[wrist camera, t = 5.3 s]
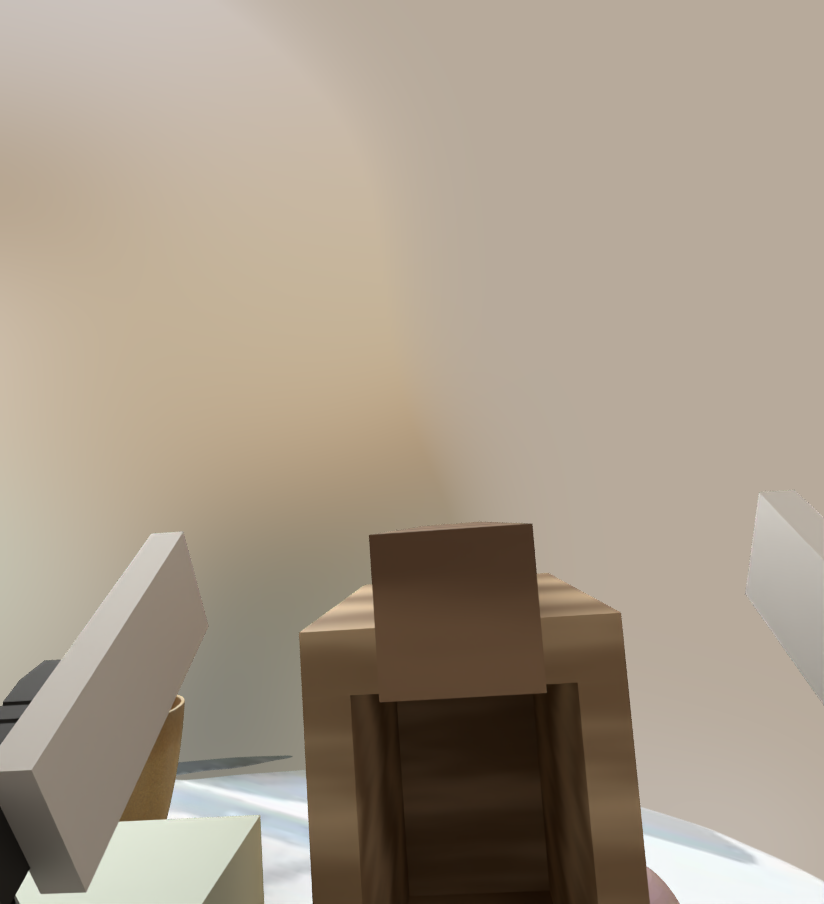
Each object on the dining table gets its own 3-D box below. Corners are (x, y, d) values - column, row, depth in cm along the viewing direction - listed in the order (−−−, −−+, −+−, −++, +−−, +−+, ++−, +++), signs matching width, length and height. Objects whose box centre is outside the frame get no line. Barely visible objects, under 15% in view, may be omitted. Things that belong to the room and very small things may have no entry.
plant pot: (160, 825, 80) (156, 685, 81) (212, 869, 68) (206, 705, 70) (15, 874, 70) (14, 714, 72) (48, 934, 59) (46, 743, 60)
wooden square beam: (547, 693, 12) (532, 523, 12) (379, 702, 12) (369, 534, 12) (484, 578, 36) (479, 521, 36) (427, 582, 36) (423, 525, 36)
